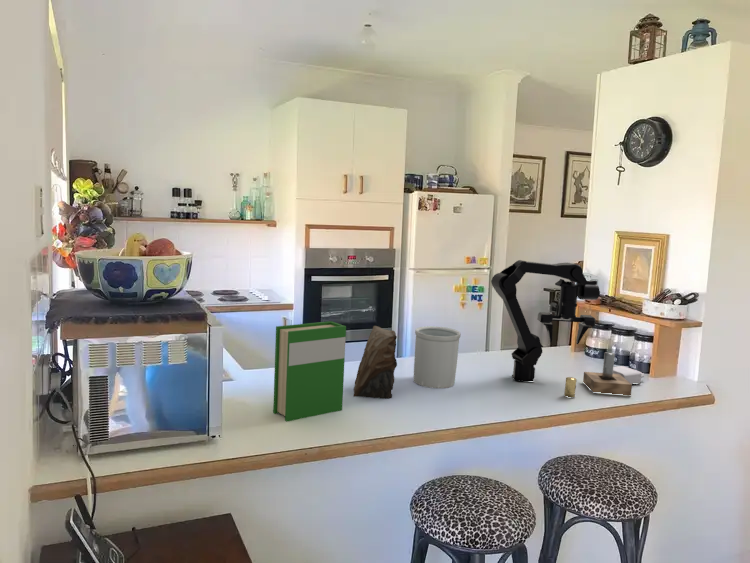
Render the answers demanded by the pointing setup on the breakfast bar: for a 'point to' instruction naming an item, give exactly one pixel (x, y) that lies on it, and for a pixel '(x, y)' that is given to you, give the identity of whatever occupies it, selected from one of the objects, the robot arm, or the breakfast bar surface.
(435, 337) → the utensil holder
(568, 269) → the robot arm
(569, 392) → the short brass pin
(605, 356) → the long steel pin
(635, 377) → the charger
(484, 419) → the breakfast bar surface
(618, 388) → the walnut hole block
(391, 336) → the brown rock
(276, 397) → the hardback book
